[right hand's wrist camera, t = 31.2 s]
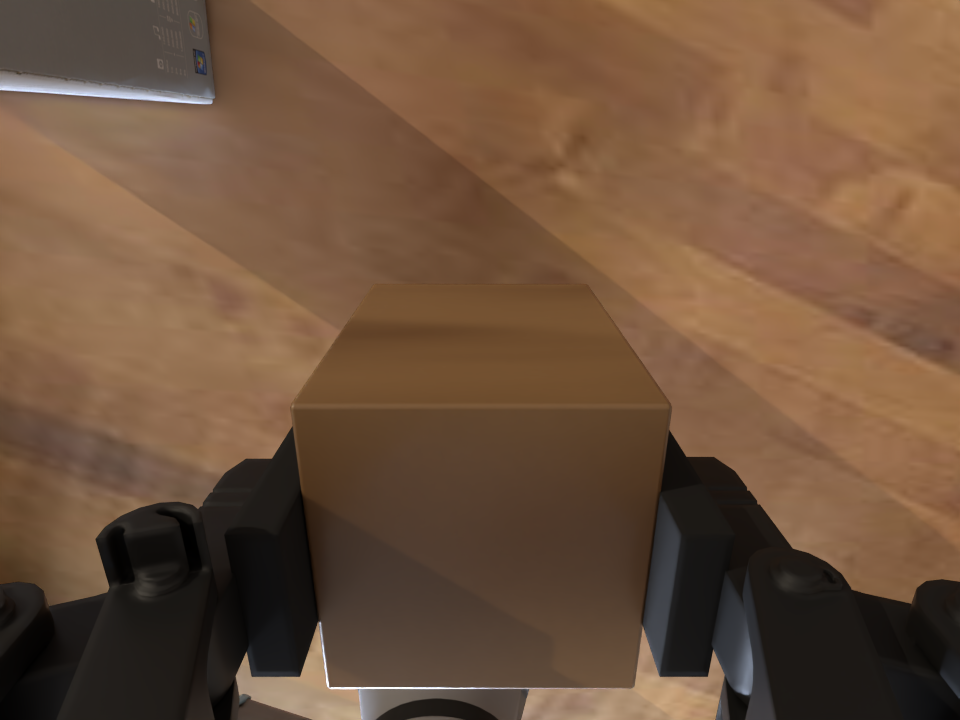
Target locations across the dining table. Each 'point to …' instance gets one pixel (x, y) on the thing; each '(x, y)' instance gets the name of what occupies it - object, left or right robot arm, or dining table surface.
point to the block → (480, 490)
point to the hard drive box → (107, 49)
